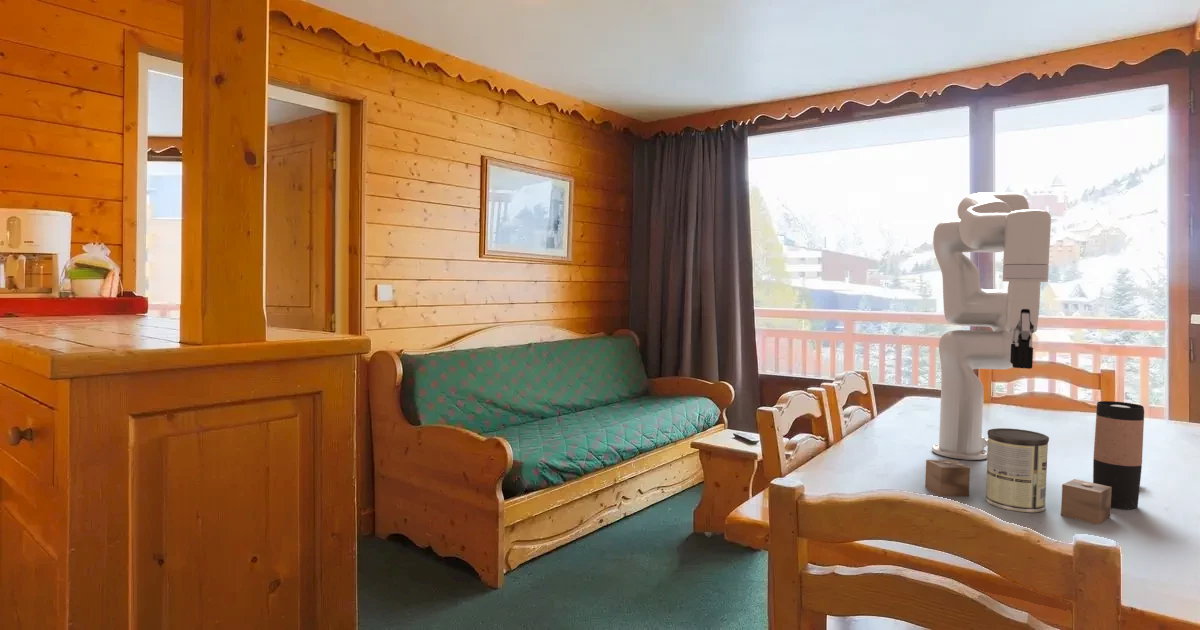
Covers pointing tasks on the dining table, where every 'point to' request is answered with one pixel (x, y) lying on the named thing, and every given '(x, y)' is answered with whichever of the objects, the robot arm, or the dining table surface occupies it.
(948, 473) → the three-pip block
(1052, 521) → the dining table surface
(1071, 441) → the dining table surface
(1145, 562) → the dining table surface
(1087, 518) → the one-pip block
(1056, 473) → the dining table surface
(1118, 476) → the travel mug
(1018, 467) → the coffee can
